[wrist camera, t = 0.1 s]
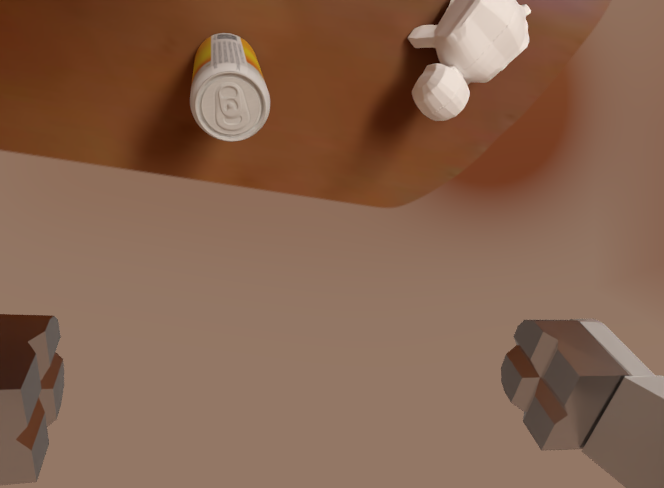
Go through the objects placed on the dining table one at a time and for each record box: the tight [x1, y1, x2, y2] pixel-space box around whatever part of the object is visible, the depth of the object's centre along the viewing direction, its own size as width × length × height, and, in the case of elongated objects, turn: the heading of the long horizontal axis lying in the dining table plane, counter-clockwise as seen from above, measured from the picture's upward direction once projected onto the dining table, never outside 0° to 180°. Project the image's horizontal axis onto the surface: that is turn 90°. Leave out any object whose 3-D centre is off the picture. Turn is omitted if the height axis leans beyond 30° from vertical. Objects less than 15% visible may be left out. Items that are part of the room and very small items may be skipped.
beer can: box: [190, 33, 270, 141], centre depth 46 cm, size 6×6×15 cm
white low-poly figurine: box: [408, 0, 531, 121], centre depth 53 cm, size 8×8×15 cm
